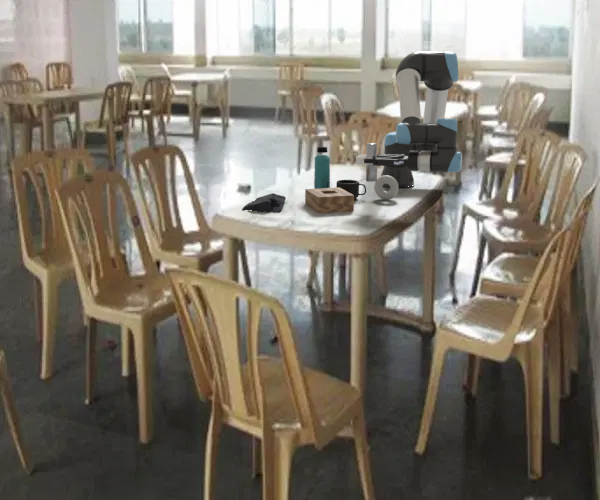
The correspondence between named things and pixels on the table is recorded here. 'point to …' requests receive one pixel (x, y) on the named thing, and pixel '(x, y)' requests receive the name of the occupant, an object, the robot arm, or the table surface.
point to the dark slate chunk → (266, 203)
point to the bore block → (329, 200)
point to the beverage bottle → (322, 169)
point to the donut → (392, 183)
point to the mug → (350, 187)
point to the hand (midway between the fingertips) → (357, 159)
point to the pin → (370, 168)
